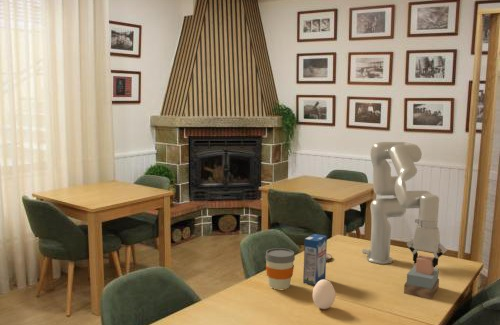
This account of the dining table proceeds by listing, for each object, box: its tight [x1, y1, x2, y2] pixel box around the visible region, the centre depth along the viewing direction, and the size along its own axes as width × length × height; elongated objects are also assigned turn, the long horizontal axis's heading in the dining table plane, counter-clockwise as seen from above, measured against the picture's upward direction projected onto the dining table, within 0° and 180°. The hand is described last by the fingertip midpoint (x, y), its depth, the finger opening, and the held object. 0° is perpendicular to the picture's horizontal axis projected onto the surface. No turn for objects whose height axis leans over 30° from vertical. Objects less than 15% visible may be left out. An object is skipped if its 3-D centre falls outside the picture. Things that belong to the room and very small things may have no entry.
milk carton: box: [302, 233, 328, 286], centre depth 215 cm, size 10×6×20 cm, turn 148°
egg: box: [312, 278, 336, 310], centre depth 188 cm, size 9×9×12 cm
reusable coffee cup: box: [265, 247, 296, 290], centre depth 209 cm, size 13×13×15 cm
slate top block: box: [406, 264, 440, 289], centre depth 207 cm, size 10×14×4 cm
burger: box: [326, 252, 333, 263], centre depth 247 cm, size 12×12×8 cm
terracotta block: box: [415, 254, 435, 275], centre depth 207 cm, size 6×6×6 cm
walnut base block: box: [403, 278, 440, 300], centre depth 208 cm, size 11×15×4 cm
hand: (425, 264), depth 207 cm, fingers open, 7 cm apart
